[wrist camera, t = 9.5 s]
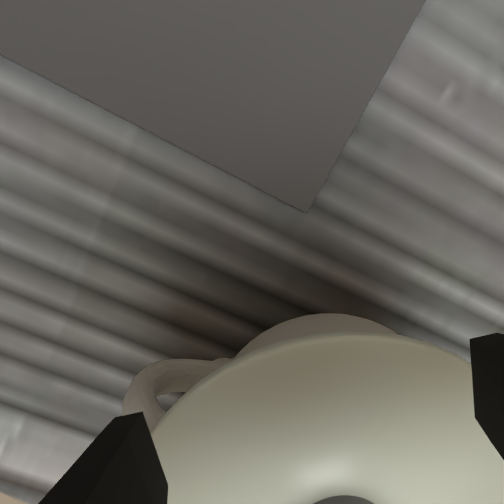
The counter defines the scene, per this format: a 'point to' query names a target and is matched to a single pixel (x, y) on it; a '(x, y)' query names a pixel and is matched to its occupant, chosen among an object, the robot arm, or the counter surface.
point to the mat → (222, 74)
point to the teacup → (225, 361)
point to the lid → (331, 427)
